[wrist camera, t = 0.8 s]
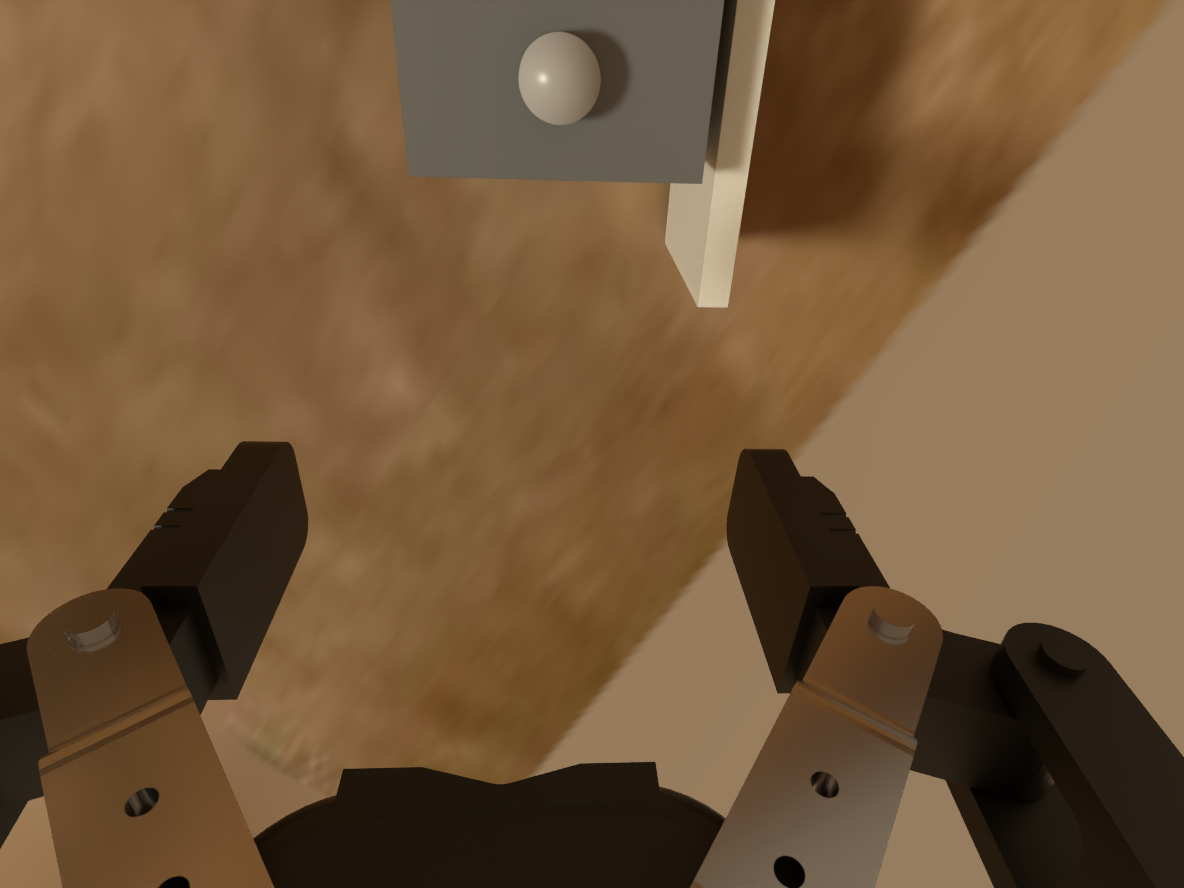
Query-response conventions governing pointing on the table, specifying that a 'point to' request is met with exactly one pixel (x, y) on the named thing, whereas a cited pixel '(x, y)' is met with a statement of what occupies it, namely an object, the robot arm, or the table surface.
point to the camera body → (557, 88)
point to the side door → (722, 158)
